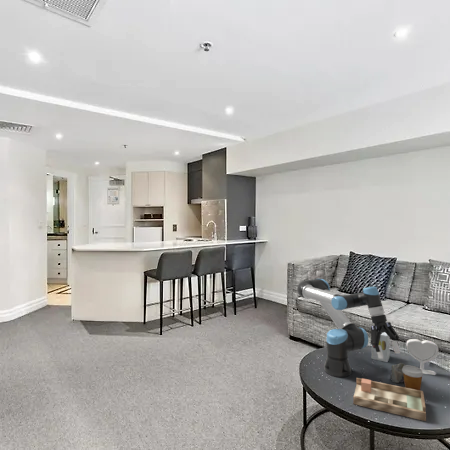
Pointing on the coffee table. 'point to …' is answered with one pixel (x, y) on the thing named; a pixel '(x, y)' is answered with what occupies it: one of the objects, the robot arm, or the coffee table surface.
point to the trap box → (392, 399)
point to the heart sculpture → (422, 352)
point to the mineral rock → (397, 373)
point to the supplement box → (385, 348)
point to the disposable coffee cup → (412, 377)
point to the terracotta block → (366, 385)
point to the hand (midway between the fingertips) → (389, 355)
